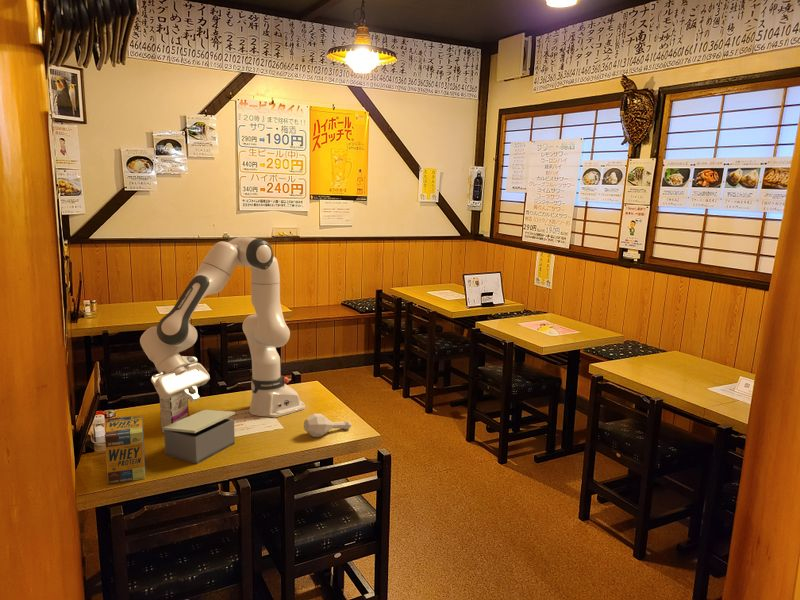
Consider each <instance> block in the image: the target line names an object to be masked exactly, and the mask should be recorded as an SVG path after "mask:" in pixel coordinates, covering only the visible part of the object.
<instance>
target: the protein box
mask: <svg viewBox="0 0 800 600" xmlns="http://www.w3.org/2000/svg"><path fill="white" fill-rule="evenodd" d="M143 420H144V418H143V415H141V414H140V415H131V416H122V417H121V416H120V417H114V418H107V420H106V426H105V434H104V441H105V442H104V443H105V445H104V446H105V459H106V472H107V485H111V484H118V483H124V482H125V483H126V482H130V481H131V482H133V481H139V480H144V479H146V459H145V458H146V457H145V439H144V438H145V437H144V421H143Z"/></svg>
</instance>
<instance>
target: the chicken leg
mask: <svg viewBox="0 0 800 600" xmlns="http://www.w3.org/2000/svg"><path fill="white" fill-rule="evenodd" d="M351 427H352V423H351V421H349V420H344V421H332V420H330V419H329V418H328V417H326V416H325V415H323V414H322V413H312V414H311V415H309V416H308V417H307V418H306V419H305V420H304V422H303V430H304V431H305V432H306V433H308V434H309V435H310V436H312V437H313V438H319V437H320V438H321V437H322V436H324V435H326V434H327V433H328V432H330V431H331V430H333V429H344V430H350V428H351Z"/></svg>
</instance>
